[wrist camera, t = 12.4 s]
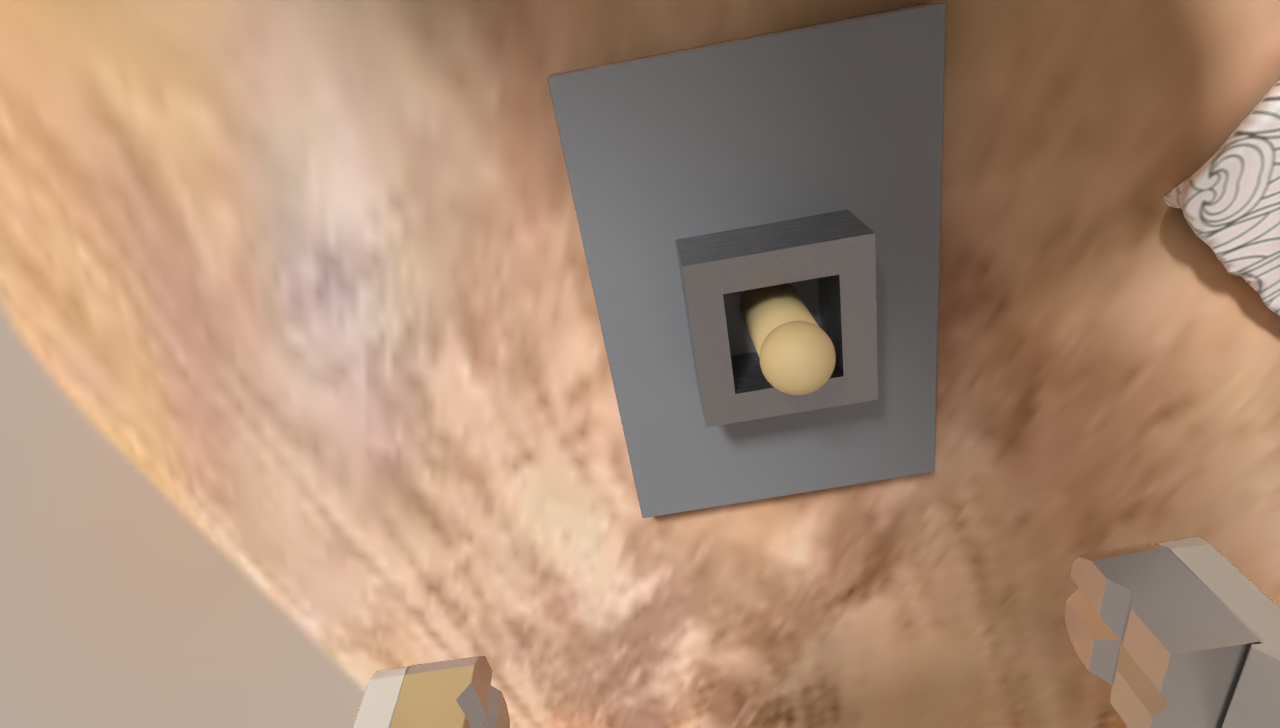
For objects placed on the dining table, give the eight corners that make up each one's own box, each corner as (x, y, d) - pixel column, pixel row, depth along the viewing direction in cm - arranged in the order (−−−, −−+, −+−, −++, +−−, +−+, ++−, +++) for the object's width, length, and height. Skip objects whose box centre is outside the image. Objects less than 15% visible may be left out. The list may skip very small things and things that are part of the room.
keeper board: (550, 75, 26) (528, 100, 19) (928, 3, 25) (1046, 2, 19) (641, 498, 35) (648, 619, 28) (921, 453, 35) (999, 566, 28)
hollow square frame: (675, 239, 28) (682, 266, 25) (847, 209, 27) (875, 233, 24) (697, 388, 31) (706, 427, 28) (853, 362, 30) (877, 399, 28)
